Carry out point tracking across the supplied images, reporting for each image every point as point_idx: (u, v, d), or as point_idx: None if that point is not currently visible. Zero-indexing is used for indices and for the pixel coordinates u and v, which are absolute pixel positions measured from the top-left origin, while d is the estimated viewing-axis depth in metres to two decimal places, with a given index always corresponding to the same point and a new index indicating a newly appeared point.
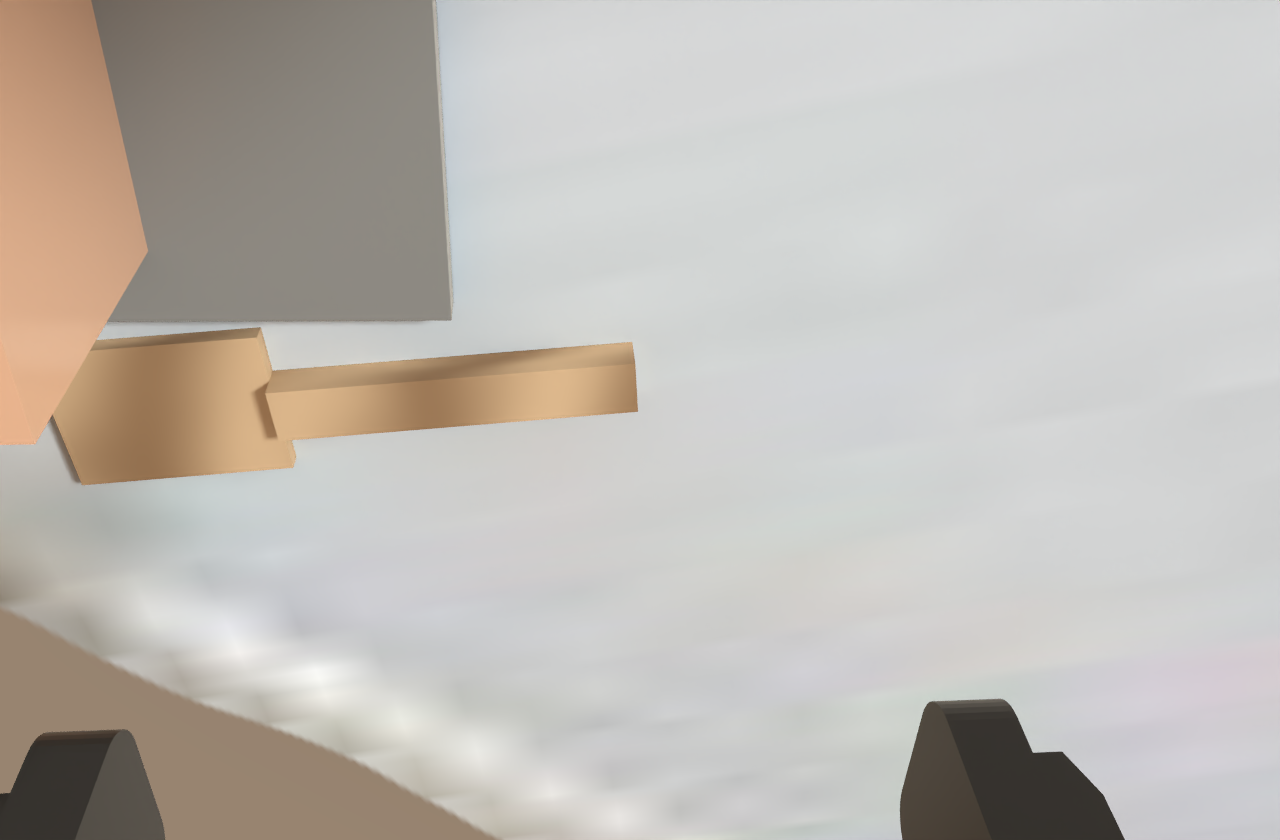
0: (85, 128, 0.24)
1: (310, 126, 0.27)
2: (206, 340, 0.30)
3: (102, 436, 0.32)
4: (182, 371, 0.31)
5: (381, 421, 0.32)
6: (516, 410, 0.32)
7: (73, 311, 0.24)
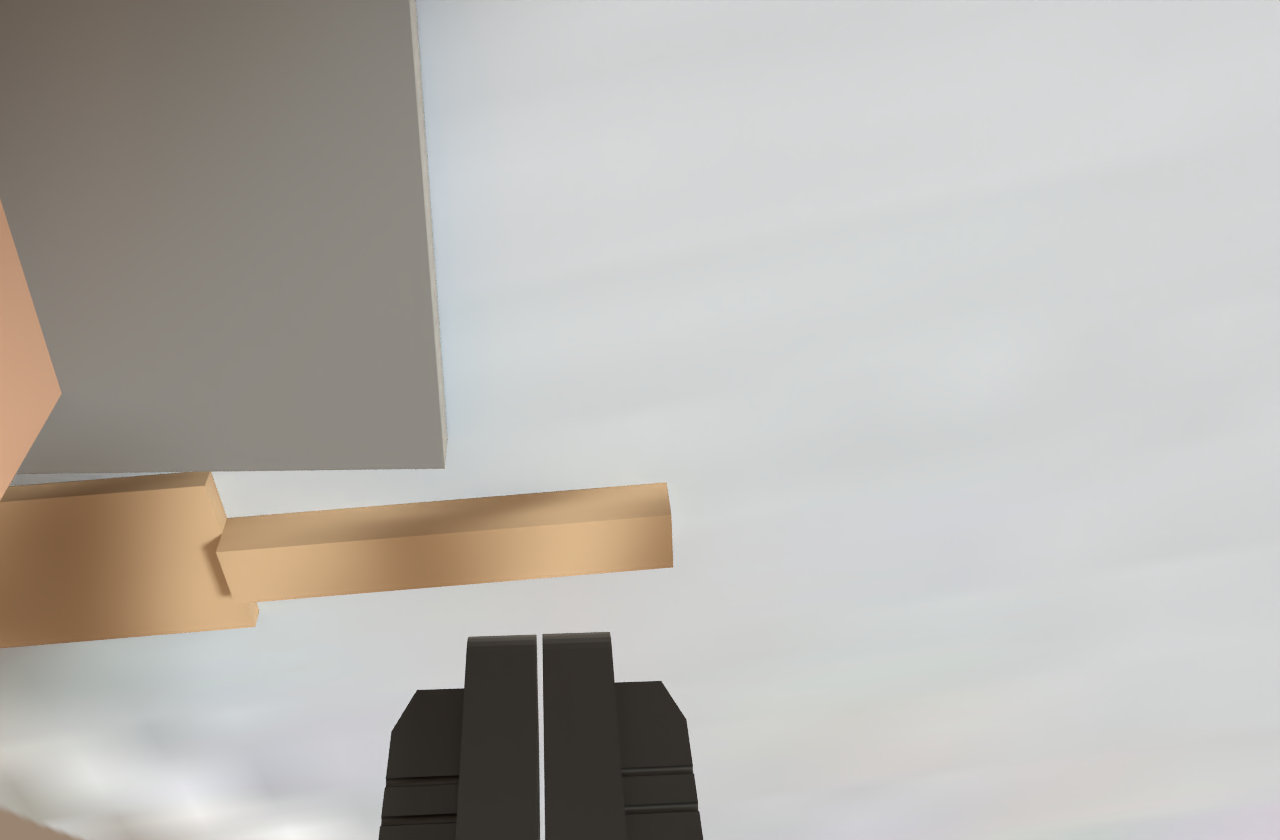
0: None
1: (261, 245, 0.21)
2: (142, 489, 0.25)
3: (21, 596, 0.26)
4: (114, 524, 0.25)
5: (359, 581, 0.26)
6: (525, 568, 0.26)
7: None
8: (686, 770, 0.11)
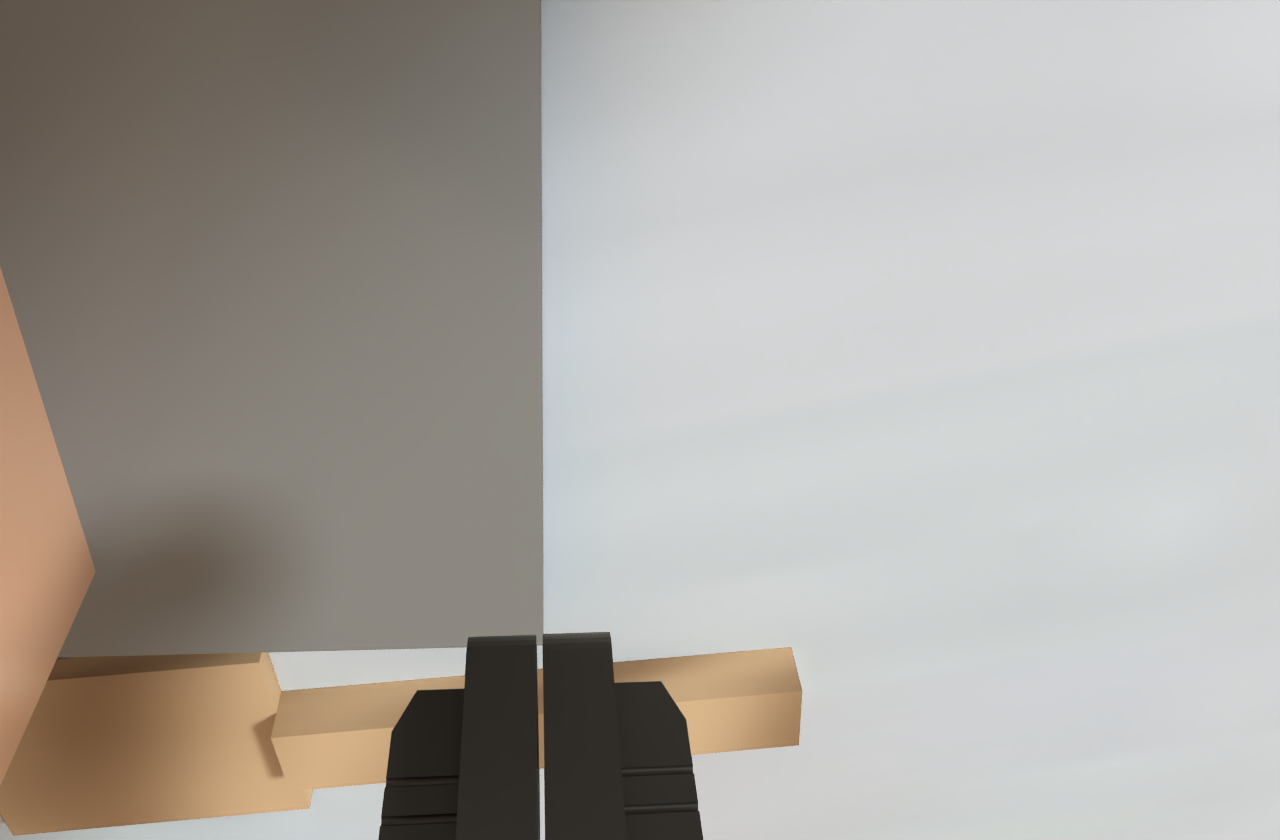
0: None
1: (343, 406, 0.17)
2: (186, 665, 0.21)
3: (38, 781, 0.22)
4: (151, 704, 0.21)
5: None
6: None
7: None
8: (686, 770, 0.11)
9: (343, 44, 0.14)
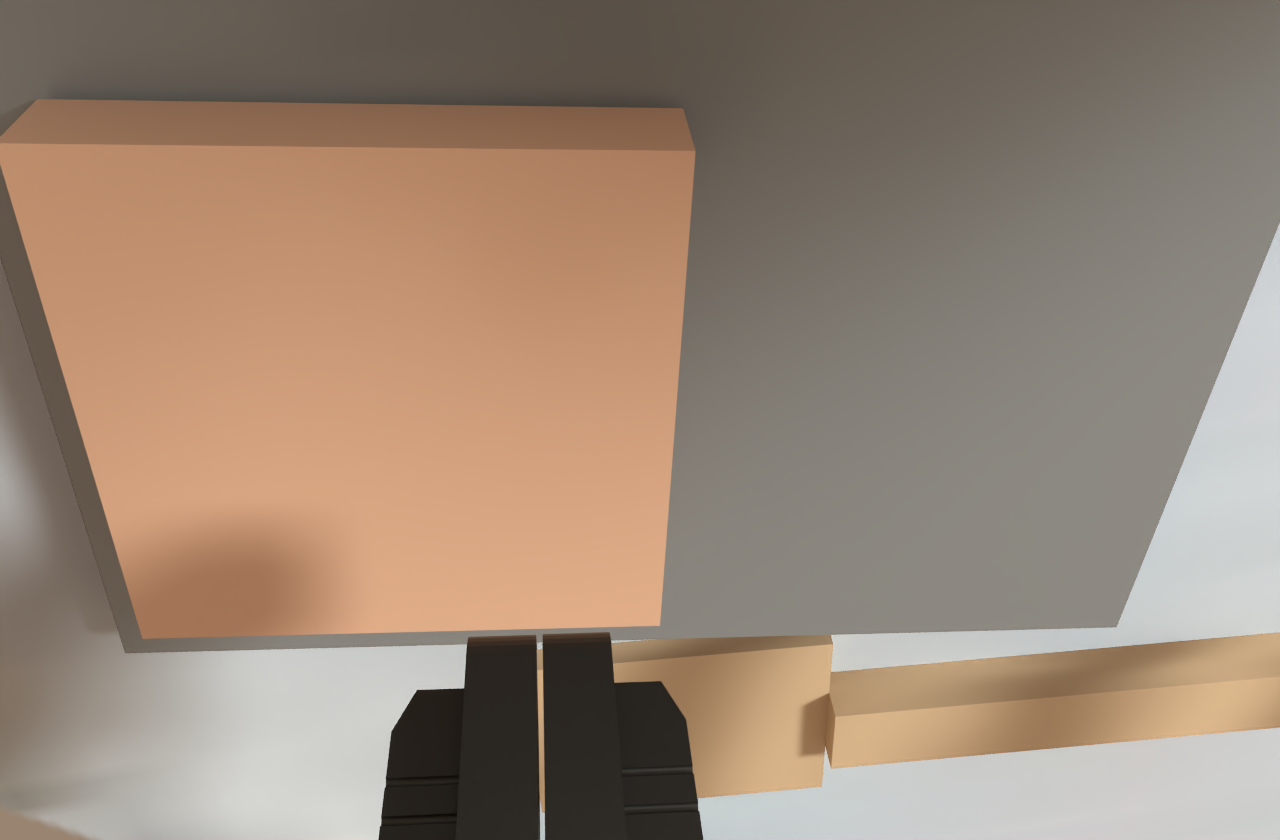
0: (531, 429, 0.16)
1: (1030, 397, 0.18)
2: (762, 647, 0.22)
3: None
4: (719, 684, 0.22)
5: (974, 743, 0.23)
6: (1156, 727, 0.23)
7: (340, 581, 0.17)
8: (686, 770, 0.11)
9: (1171, 57, 0.15)
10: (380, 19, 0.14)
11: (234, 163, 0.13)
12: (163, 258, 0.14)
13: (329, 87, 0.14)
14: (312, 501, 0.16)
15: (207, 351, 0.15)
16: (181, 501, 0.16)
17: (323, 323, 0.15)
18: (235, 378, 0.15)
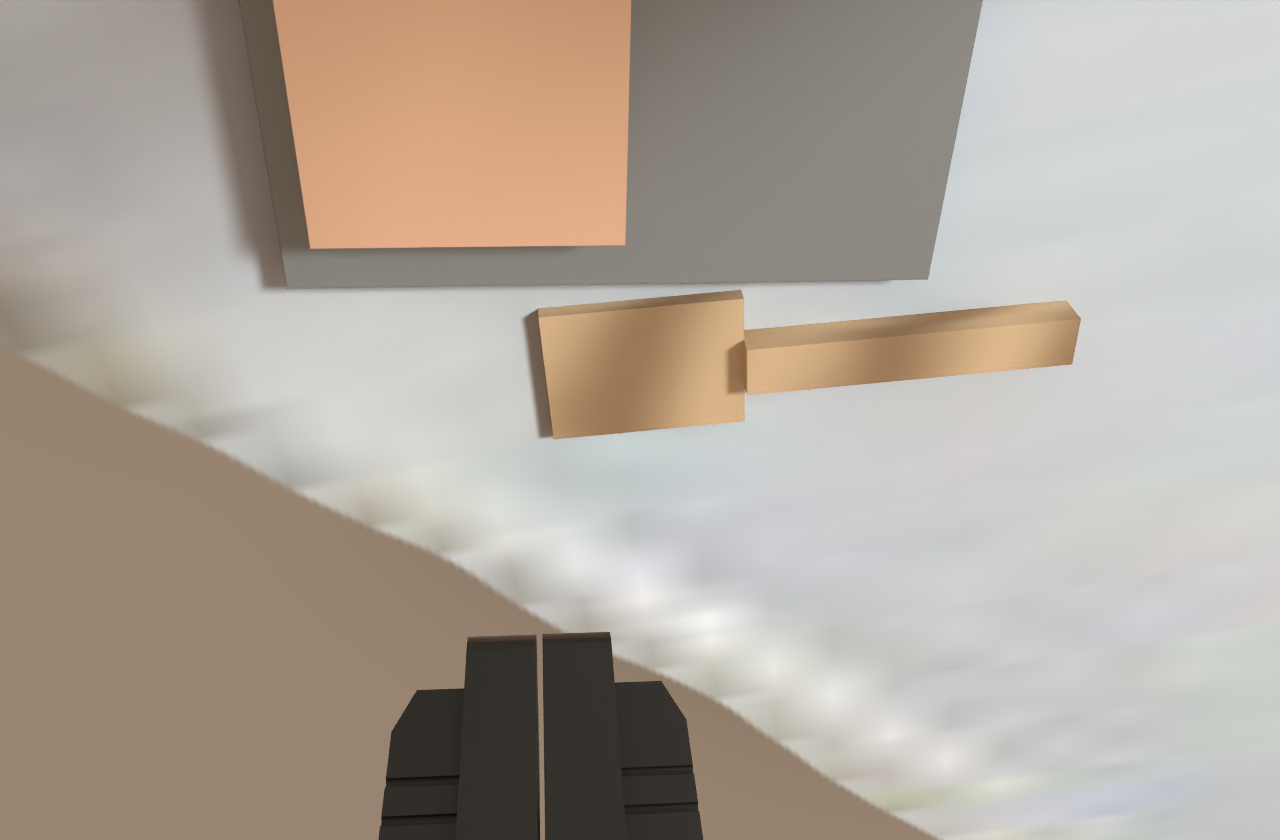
0: (545, 97, 0.27)
1: (850, 100, 0.30)
2: (697, 301, 0.33)
3: (583, 393, 0.35)
4: (670, 331, 0.34)
5: (842, 375, 0.35)
6: (964, 364, 0.35)
7: (431, 206, 0.29)
8: (686, 770, 0.11)
9: None
10: None
11: None
12: None
13: None
14: (416, 147, 0.28)
15: (362, 41, 0.26)
16: (340, 145, 0.28)
17: (428, 23, 0.26)
18: (377, 60, 0.26)
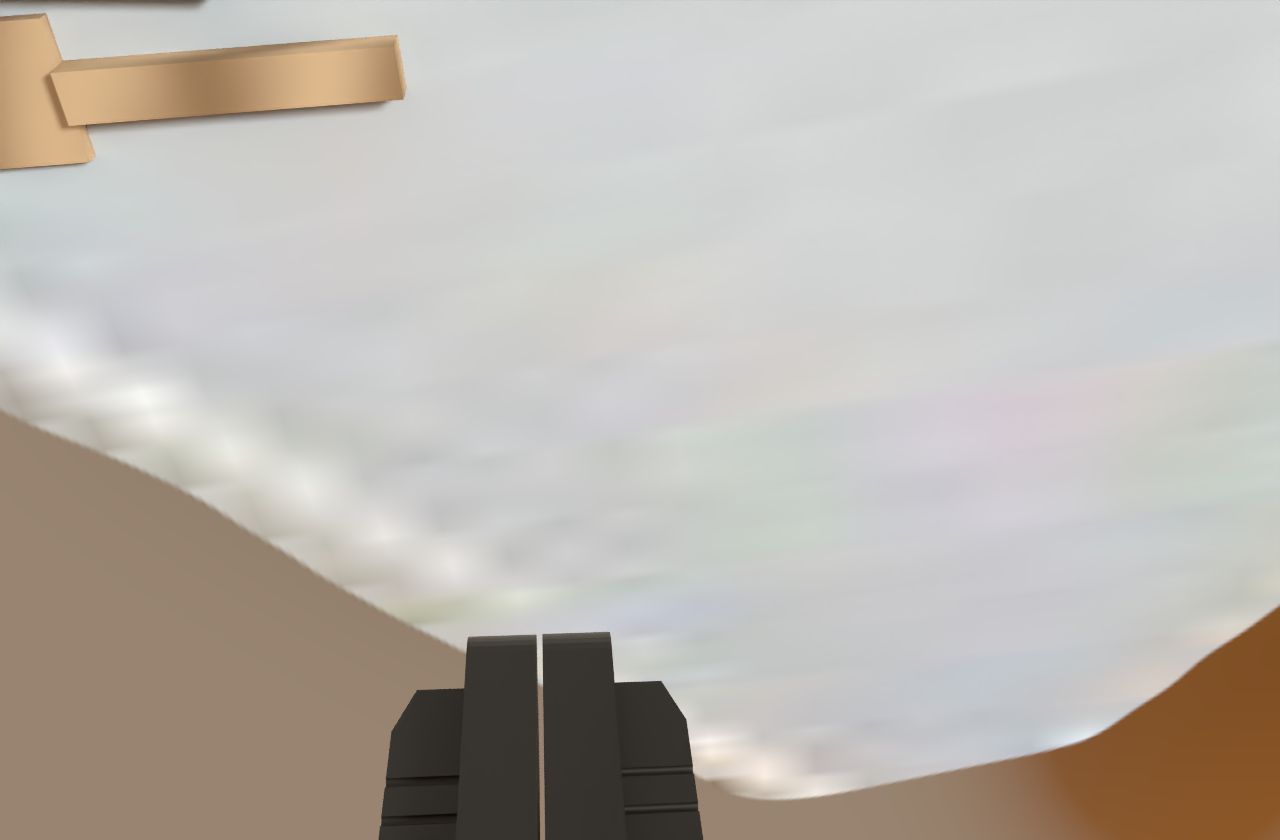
0: None
1: None
2: None
3: None
4: None
5: (162, 106, 0.34)
6: (288, 96, 0.34)
7: None
8: (686, 770, 0.11)
9: None
10: None
11: None
12: None
13: None
14: None
15: None
16: None
17: None
18: None
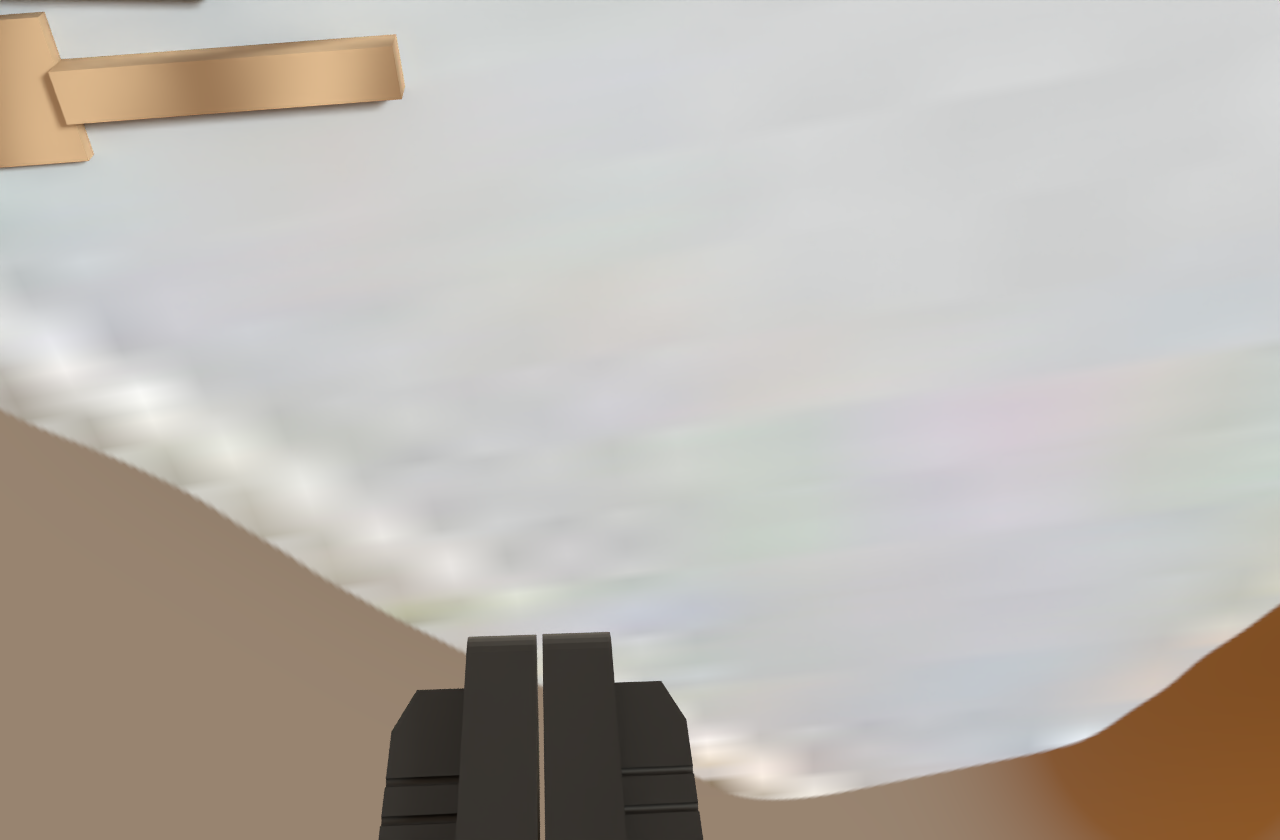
0: None
1: None
2: None
3: None
4: None
5: (161, 105, 0.34)
6: (287, 95, 0.34)
7: None
8: (686, 770, 0.11)
9: None
10: None
11: None
12: None
13: None
14: None
15: None
16: None
17: None
18: None
